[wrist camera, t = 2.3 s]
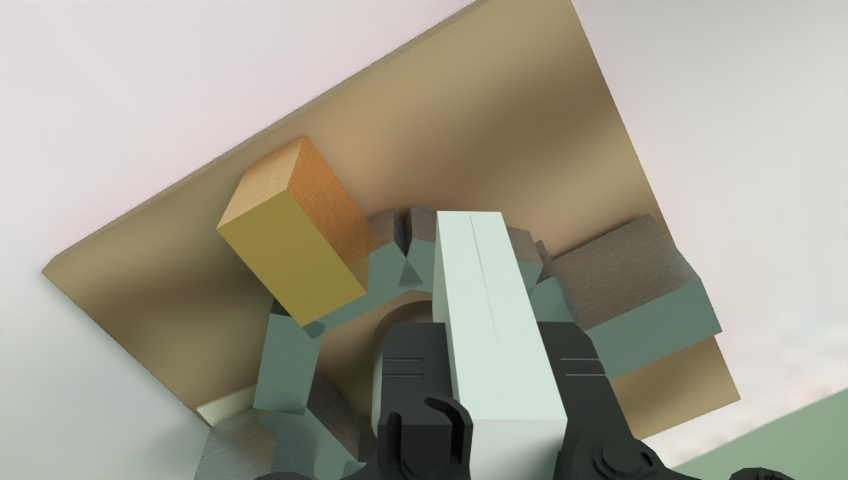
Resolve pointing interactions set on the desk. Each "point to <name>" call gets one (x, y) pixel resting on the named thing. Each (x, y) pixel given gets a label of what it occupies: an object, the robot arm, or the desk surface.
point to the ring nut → (394, 275)
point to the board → (396, 187)
